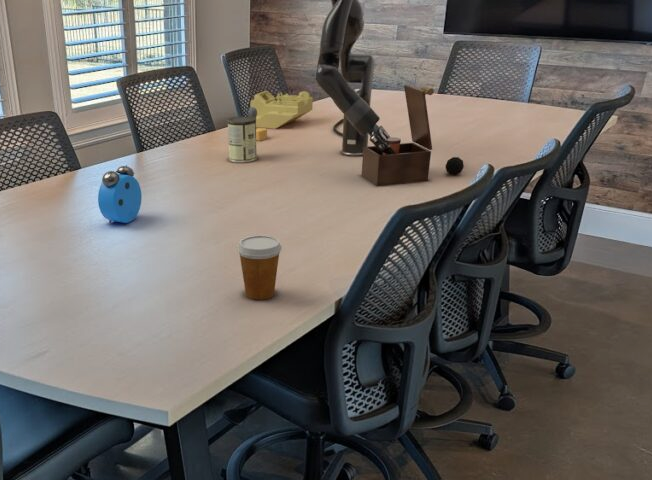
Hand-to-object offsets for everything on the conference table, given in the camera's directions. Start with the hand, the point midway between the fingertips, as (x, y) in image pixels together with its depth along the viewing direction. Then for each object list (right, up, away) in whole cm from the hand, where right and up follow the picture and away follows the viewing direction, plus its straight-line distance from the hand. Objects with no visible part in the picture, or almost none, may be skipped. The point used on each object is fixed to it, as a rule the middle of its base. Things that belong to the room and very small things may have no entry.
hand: (396, 156), depth 229 cm
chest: (+1, -5, +5) cm, 8 cm away
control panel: (-31, +41, +85) cm, 99 cm away
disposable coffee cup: (-47, -53, -70) cm, 100 cm away
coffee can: (-48, +10, +34) cm, 60 cm away
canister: (-2, -3, +3) cm, 5 cm away
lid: (+6, +11, -3) cm, 13 cm away
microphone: (+23, -1, +12) cm, 26 cm away
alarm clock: (-84, -26, -23) cm, 91 cm away
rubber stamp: (-43, +27, +63) cm, 81 cm away
